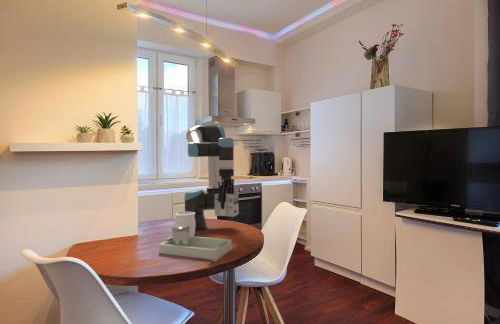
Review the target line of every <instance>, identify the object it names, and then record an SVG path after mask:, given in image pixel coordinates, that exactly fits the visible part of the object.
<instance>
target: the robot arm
mask: <svg viewBox="0 0 500 324" xmlns="http://www.w3.org/2000/svg"><path fill="white" fill-rule="evenodd" d="M225 131H226V130H225V128H224V126H222V125H196V126H193V127H191V128H190V129H189V130H187V132H186V138H185V139H186V140H187V142H188V143H187V155H188V157H192V158H199V157H200V158H201V157H202V158H203V157H204V158H207V168H208V169H207V170H208V171H207V172H208V186H207V187H206V191H205V190H204V189H203V188H202V189H201V188H198V189H193V190H188V191H186V192H185V193H184V200H183V201H184V212H195V215H194V217H195V223H196V226H195V231H197V230H199V231H200V230H202V229H203V230H204V229H206V228H207V226H208V225H207V221H206V220H207V219H206V218H205V215H204V214H205V213H204V211H212V210H214V211H215V194H218V202H221V215H224V216H223V217H227V216H226V202H225V200H226V193H231V194H235V179H234V178H232V177H234V175H235V169H234V168H235V163H234V162H235V161H234V156H235V155H234V149H235V148H234V146H235V144H234V138H232V137H226V132H225Z"/></svg>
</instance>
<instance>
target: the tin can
mask: <svg viewBox="0 0 500 324" xmlns="http://www.w3.org/2000/svg"><path fill="white" fill-rule="evenodd" d="M171 233H172V235H171V237H172V245H178V246H187V247H190V227H189V226H175V225H174V226H172V227H171Z"/></svg>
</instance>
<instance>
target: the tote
mask: <svg viewBox="0 0 500 324" xmlns="http://www.w3.org/2000/svg"><path fill="white" fill-rule="evenodd" d="M232 244H233V243H232V239H226V238H225V239H224V238H216V237H215V238H214V237H205V236H203V237H202V236H195V235H194V236H190V247H187V246H178V245H172V236H170V237H167V238H166V239H165V241H163V242H161V243H158V253H159V254H164V255H172V256H179V257H188V258H194V259H195V258H196V259H204V260H205V259H206V260H208V262H210V263H215V262H217V261H218V260H220V259H222V258H223V257H225V256H226V255H227V254H230V252H232V250H233V249H232V248H233V246H232Z"/></svg>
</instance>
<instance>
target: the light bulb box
mask: <svg viewBox="0 0 500 324" xmlns="http://www.w3.org/2000/svg"><path fill="white" fill-rule="evenodd" d="M225 202H226V216H224V215H221V202H218V194H215V210H214V216H218V217H236V216H238V215H239V212H240V211H239V193H234V194H231V193H226V200H225Z"/></svg>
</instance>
